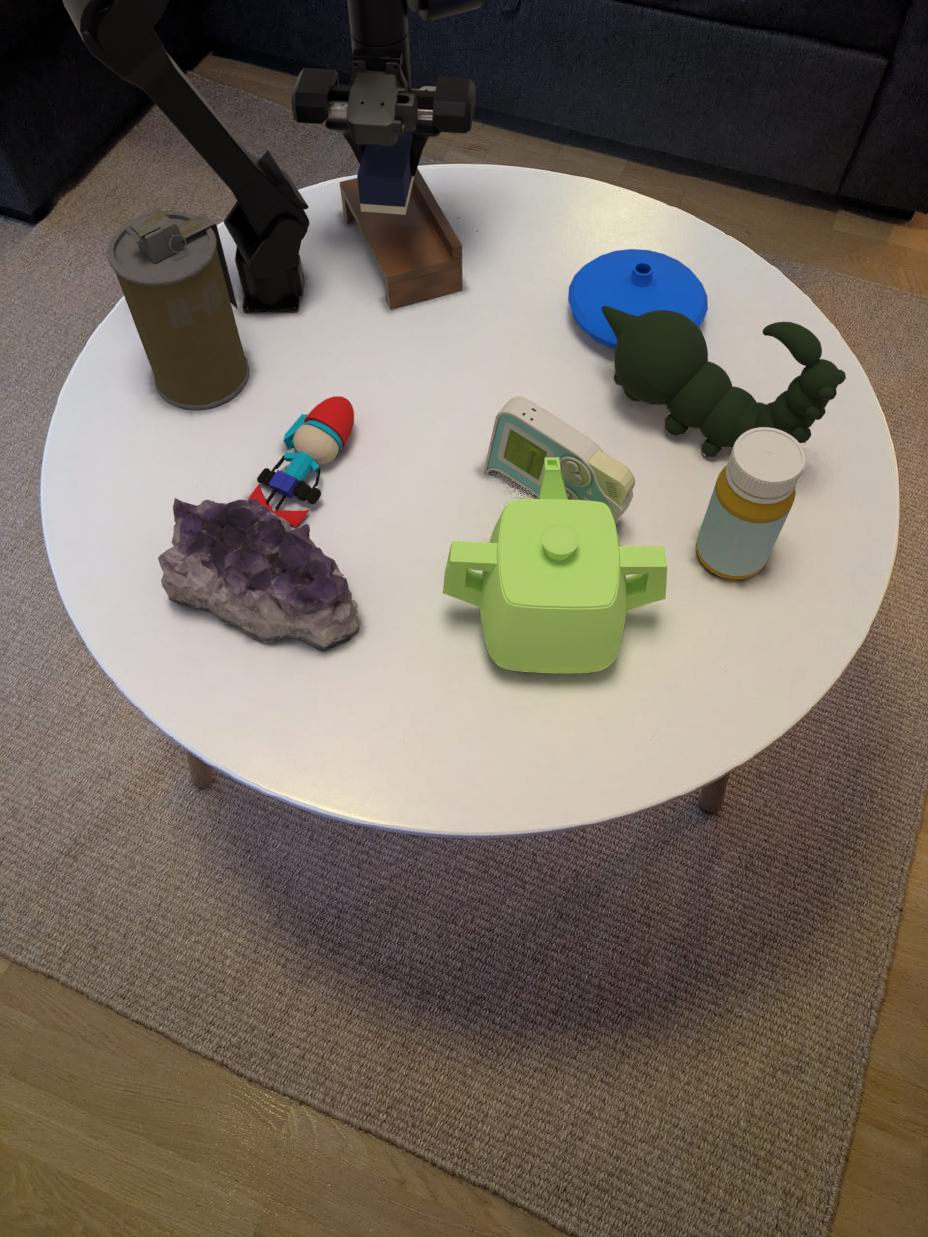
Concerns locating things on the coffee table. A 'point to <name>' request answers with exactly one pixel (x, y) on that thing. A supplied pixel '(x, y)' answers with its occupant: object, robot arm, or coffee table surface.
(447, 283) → the sharpening stone holder
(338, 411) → the toy figure
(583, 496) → the handheld gaming console
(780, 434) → the bottle
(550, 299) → the coffee table surface
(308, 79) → the robot arm
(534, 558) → the teapot
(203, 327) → the canister
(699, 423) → the green caterpillar figure
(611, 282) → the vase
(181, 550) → the geode
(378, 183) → the dark blue rectangular block
